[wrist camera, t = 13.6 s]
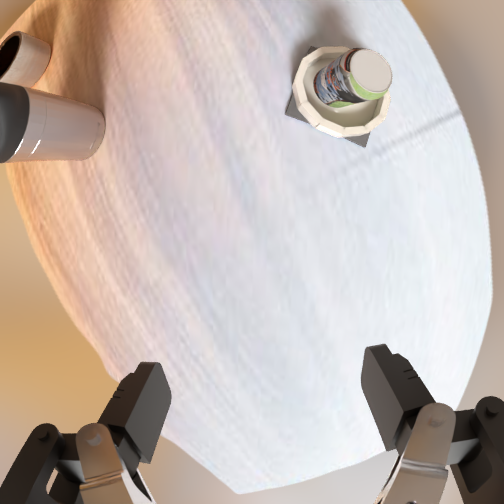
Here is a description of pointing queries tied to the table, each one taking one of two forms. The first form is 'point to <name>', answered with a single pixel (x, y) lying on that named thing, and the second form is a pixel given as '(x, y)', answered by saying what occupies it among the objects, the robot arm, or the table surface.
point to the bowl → (329, 118)
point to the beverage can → (353, 78)
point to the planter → (23, 59)
